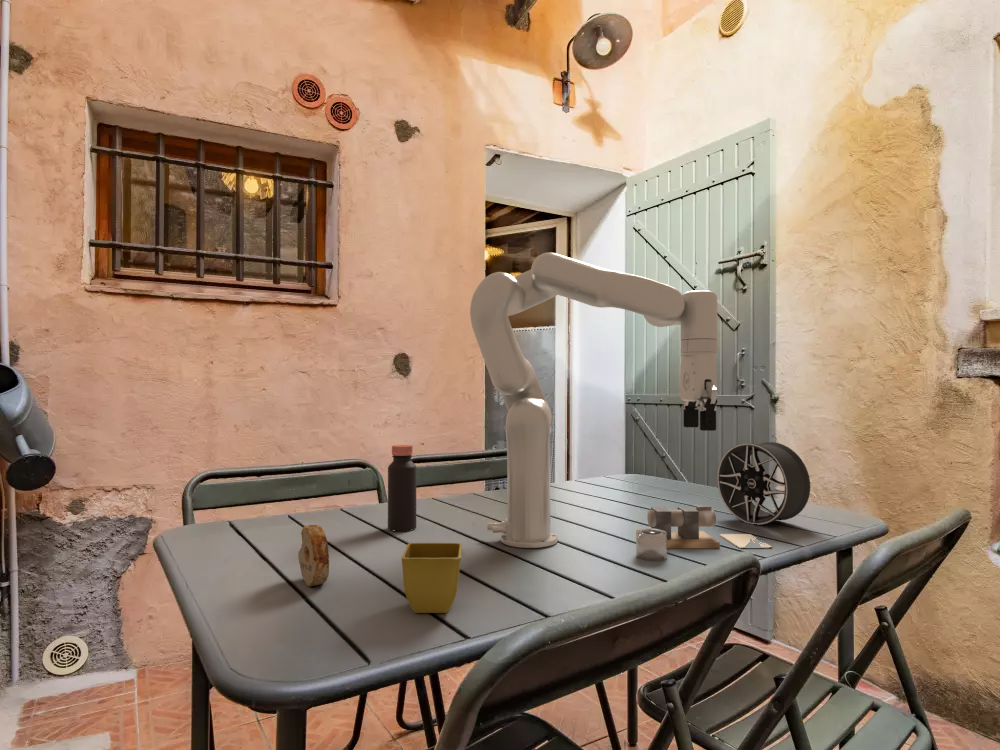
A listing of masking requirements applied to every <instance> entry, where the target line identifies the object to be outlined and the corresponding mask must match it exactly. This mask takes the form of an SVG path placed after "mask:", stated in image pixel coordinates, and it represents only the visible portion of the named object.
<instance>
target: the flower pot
mask: <svg viewBox="0 0 1000 750" xmlns="http://www.w3.org/2000/svg"><path fill="white" fill-rule="evenodd" d="M462 551H463V543H461V542H409V543H407V545H406V547H405V550H404V551H403V553H402V555H401V567H402V577H403V578H402V580H403V589H404V592H405V593H404V594H405V597H406V599H407V603H408V604H409V606H410V608H411V609H412V611H413V612H414V613H416V614H447V613H448V612H450V610H451V607H452V606H453V603H454V601H455V598H456V595H457V591H458V587H459V586H458V585H459V579H460V577H459V576H460V568H461V561H462Z"/></svg>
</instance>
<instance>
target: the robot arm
mask: <svg viewBox="0 0 1000 750" xmlns="http://www.w3.org/2000/svg"><path fill="white" fill-rule="evenodd" d="M557 296H560V297H564V298H567V299H570V300H573V301H576V302H579V303H581V304H584V305H585V304H586V305H588V306H590V307H591V306H592V307H595V308H603V309H604V308H616V309H622V310H626V311H628V312H632V313H635V314H639V315H641V316H644V317H643V318H644V319H645V321H646V322H647V323H648V324H650V325H651V326H653V327H658V328H663V327H664V328H665V327H666V328H667V327H671V326H680V357H682V358H681V364H680V377H679V399H680V400H681V401H683V405H682V409H683V410H682V411H683V428H698V427H699V430H700V431H704V432H705V431H706V432H709V431H713V432H714V431H716V430H717V410H718V407H717V404H718V395H719V390H718V376H717V375H718V374H717V362H716V356H718V354H719V353H718V345H719V343H718V337H719V336H718V334H719V333H718V296H717V294H716V293H715V292H714V291H712V290H707V289H706V290H704V289H702V290H701V289H700V290H690V291H686V292H684V293H683V294H682V292H681V291H680V290H679V289H677V288H676V287H673V286H672V285H669V284H666V283H662V282H659V281H656V280H654V279H650V278H648V277H644V276H640V275H636V274H631V273H627V272H621V271H619V270H618V271H617V270H612V269H611V270H610V269H607V268H603V267H601V266H596V265H594V264H590V263H588V262H584V261H581V260H578V259H575V258H571V257H568V256H565V255H562V254H559V253H556V252H544V253H543V252H542V253H541V254H539V255H538V256H536V257H535V259H534V260H533V262H532V265H531V269H529V270H526V271H524V272H522V273H520V274H518V275H516V276H513V275H511V274H510V273H507V272H503V271H496V272H492V273H491V274H488V275H487V276H485V277H484V278H483V279H482V280H481V281H480V283H479V284H478V285H477V287H476V289H475V291H474V293H473V294H472V298H471V300H470V307H469V311H470V312H469V317H470V324H471V327H472V330H473V334H474V337H475V339H476V343H477V344H478V348H479V349H480V352H481V353H480V354H481V357H482V358H483V361H484V363H485V366H486V369H487V372H488V375H489V377H490V381H491V383H492V386H493V387H494V388H495V389H496V390H497V391H498V392H499V393H500V394H501V397H502V400H503V401H504V404H505V407H506V409H507V414H506V420H505V437H506V456H507V457H506V459H507V460H506V461H507V462H506V465H507V466H506V468H507V470H506V471H507V479H506V480H507V481H506V482H507V485H506V486H507V490H506V491H507V495H506V496H507V499H506V500H507V517H505V520H502V521H501V522H494V521H493V522H488V521H487V523H486V524H487V525H486V526H487V527H486V528H487V532H492V533H493V534H497V533H501V535H500V542H501V543H502V544H504V545H507V546H509V547H514V548H522V549H538V548H546V547H550V546H553V545H555V544H557V542H558V539H559V538H558V534H556V533H554V532H553V531H551V442H550V441H551V436H550V435H551V424H552V420H553V419H552V418H553V416H552V415H553V414H552V411H551V409H550V405H549V403H548V401H547V398H546V396H545V394H544V391H543V388H542V387H541V383H540V381H539V379H538V377H537V374H536V371H535V370H534V368H533V365H532V364H531V363H530V361H529V360H528V359H527V358H526V357H525V356H524V354H523V352H522V350H521V346H520V344H519V343H518V340H517V336H516V334H515V331H514V330H513V328H512V324H511V322H510V318H509V317H510V316H514V315H517V314H519V313H522V312H524V311H526V310H528V309H531V308H533V307H535V306H537V305H540V304H542V303H544V302H546V301H548V300H551V299H553V298H554V297H557ZM698 405H699V406H700V408H701V410H699V409H698Z"/></svg>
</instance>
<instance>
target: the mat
mask: <svg viewBox="0 0 1000 750" xmlns="http://www.w3.org/2000/svg"><path fill="white" fill-rule="evenodd" d="M719 536H720V537H721V538H723V539H724V540H726V541H727V542H729V543H730V544H731V545H733V546H735V547H736V546H737V548H738V547H739V548H743V547H745V546H746V545H747V544H748V543H749V542H750V539H752V541H753V540H755V539H756V538H757V537H756V536H755V535H752V534H751V533H721V534H720V533H719ZM753 537H754V538H753ZM753 542H754V541H753ZM754 543H755V542H754ZM760 543H762V542H760ZM760 543H759V544H760ZM764 544H765V545H764ZM760 546H761V547H773V546H772V545H770V544H768V543H766V542H765V543H762V544H760ZM739 548H738V549H739Z"/></svg>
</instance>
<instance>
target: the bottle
mask: <svg viewBox="0 0 1000 750" xmlns="http://www.w3.org/2000/svg"><path fill="white" fill-rule="evenodd" d="M391 455H392V456H391V457H392V458H393V459H392V462H391V463H390V464H389V465H388V467H387V529H388V530H389V529H390V530H389V531H391V530H395V531H394V532H396V531H404V532H408V531H407V530H411V529H414V528H415V529H417V466H416V464H415V463H414V462H413V461H412V457H413V445H412V444H395V445H392V446H391ZM415 529H414V530H415ZM411 531H412V530H411Z"/></svg>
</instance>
